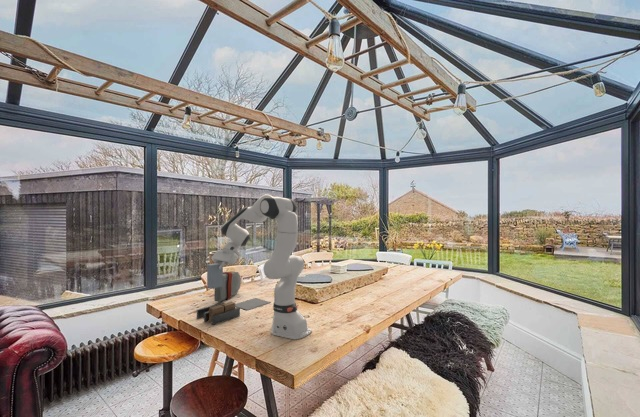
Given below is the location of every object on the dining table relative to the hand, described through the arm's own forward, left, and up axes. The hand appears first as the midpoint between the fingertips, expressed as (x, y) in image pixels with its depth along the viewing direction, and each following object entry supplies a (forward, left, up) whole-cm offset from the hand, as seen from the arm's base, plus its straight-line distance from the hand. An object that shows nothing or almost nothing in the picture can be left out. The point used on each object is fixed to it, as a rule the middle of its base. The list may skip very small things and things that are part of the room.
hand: (216, 268), depth 178 cm
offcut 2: (-8, -3, -29) cm, 30 cm away
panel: (0, +1, -11) cm, 11 cm away
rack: (-3, +1, -29) cm, 29 cm away
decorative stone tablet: (+25, -26, -29) cm, 46 cm away
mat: (0, -27, -29) cm, 40 cm away
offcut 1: (-8, +5, -29) cm, 30 cm away
